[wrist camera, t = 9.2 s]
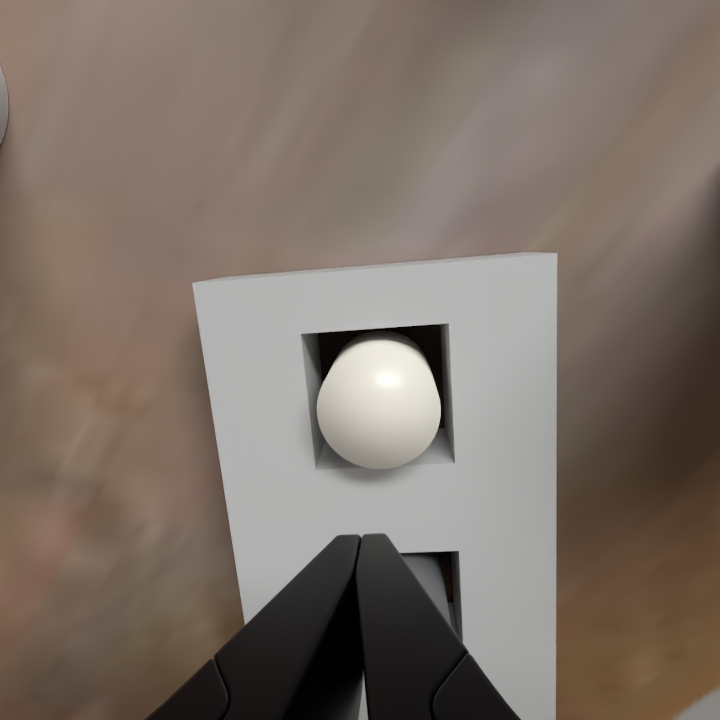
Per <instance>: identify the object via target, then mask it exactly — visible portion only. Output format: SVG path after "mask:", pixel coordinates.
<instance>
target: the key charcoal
mask: <svg viewBox="0 0 720 720" xmlns="http://www.w3.org/2000/svg"><path fill="white" fill-rule="evenodd" d="M400 554H401V556H402V557H403V559H404V560H405V562H406V563H407V564H408V566H409V567H410V569H411V570H412V571H413V573H414V574H415V576H416V577H417V579H418V580H419V581H420V583H421V584H422V586H423V587H424V589H425V590H426V591H427V593H428V594H429V596H430V597H431V598H432V600H433V601H434V603H435V604H436V606H437V607H438V608H439V610H440V611H441V613H442V614H443V616H444V617H445V618H446V620H447V621H448V623H449V624H450V626H451V623H450V617H449V610H448V604H447V597H446V590H445V584H444V577H443V571H442V564H441V559H440V555H439V553H438V552H416V553H400Z"/></svg>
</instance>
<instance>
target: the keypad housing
mask: <svg viewBox="0 0 720 720" xmlns="http://www.w3.org/2000/svg"><path fill="white" fill-rule="evenodd" d="M192 285H193V291H194V298H195V304H196V311H197V317H198V324H199V330H200V337H201V343H202V350H203V356H204V362H205V369H206V375H207V382H208V388H209V395H210V401H211V408H212V414H213V421H214V427H215V434H216V440H217V447H218V453H219V460H220V466H221V473H222V479H223V486H224V492H225V498H226V505H227V511H228V518H229V524H230V531H231V537H232V544H233V550H234V557H235V563H236V570H237V576H238V583H239V589H240V596H241V602H242V609H243V615H244V621H245V625H246V624H247V623H248V622H249V621H250V620H251V619H252V618H253V617H254V616H255V615H256V614H257V613H258V612H259V611H260V610H261V609H262V608H263V607H264V606H265V605H266V604H267V603H268V602H269V601H270V600H271V599H272V598H273V597H274V596H275V595H276V594H277V593H278V592H280V591H281V590H282V589H283V588H284V587H285V586H286V585H287V584H288V583H289V582H290V581H291V580H292V579H293V578H294V577H295V576H296V575H297V574H298V573H299V572H300V571H301V570H302V569H303V568H304V567H305V566H306V565H307V564H308V563H309V562H310V561H311V560H312V559H313V558H314V557H315V556H316V555H317V554H318V553H319V552H320V551H322V550H323V549H324V548H325V547H326V546H327V545H328V544H329V543H330V542H331V541H332V540H333V539H334V538H335V537H336V536H337V535H347V534H358V535H360V536H361V538H362V536H363V535H364V534H373V533H384V534H386V535H387V536H388V537H389V539H390V540H391V542H392V543H393V544H394V546H395V547H396V549H397V550H398V552H399V553H416V552H444V551H451V562H452V583H453V602H452V603H447V604H448V610H449V617H450V623H451V627H452V628H453V630H454V631H455V633H456V634H457V635H458V637H459V638H460V640H461V641H462V643H463V644H464V645H465V647H466V648H467V650H468V651H469V654H470V655H472V656H473V658H474V659H475V661H476V662H477V663H478V665H479V666H480V668H481V669H482V671H483V672H484V673H485V675H486V676H487V678H488V679H489V680H490V681H491V683H492V684H493V685H494V687H495V688H496V689H497V691H498V692H499V693H500V695H501V696H502V697H503V699H504V700H505V701H506V703H507V704H508V705H509V706H510V707H511V708H512V710H513V711H514V712H515V713H516V714H517V715H518V716H519V718H520V719H521V720H556V476H557V253H538V252H524V253H512V254H500V255H487V256H475V257H463V258H451V259H439V260H427V261H414V262H402V263H390V264H378V265H366V266H354V267H341V268H329V269H317V270H305V271H293V272H281V273H269V274H256V275H244V276H232V277H223V278H218V279H212V280H206V281H201V282H195V283H192ZM433 324H440V335H441V356H442V376H443V397H444V418H445V428H438V430H437V433H436V435H435V437H434V439H433V440H432V442H431V443H430V445H429V446H428V447H427V448H426V450H425V451H424V452H422V453H421V454H420V455H419V456H418V457H416V458H415V459H413V460H412V461H410V462H408V463H406V464H404V465H401V466H398V467H394V468H388V469H371V468H365V467H362V466H358V465H356V464H353V463H351V462H349V461H347V460H346V459H344V458H343V457H341V456H340V455H339V454H337V453H336V452H335V451H334V450H333V449H332V448H331V446H330V445H329V444H328V443H327V441H326V439H325V438H324V436H323V434H322V432H321V429H320V426H319V423H318V418H317V400H318V396H319V392H320V389H321V387H322V384H323V381H322V371H321V361H320V351H319V342H318V333H322V332H336V331H350V330H363V329H377V328H391V327H405V326H419V325H433ZM358 720H368V714H367V704H366V693H365V683H364V678H363V688H362V697H361V704H360V711H359V718H358Z"/></svg>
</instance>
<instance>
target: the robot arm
mask: <svg viewBox="0 0 720 720" xmlns="http://www.w3.org/2000/svg"><path fill="white" fill-rule="evenodd" d="M363 678H364V683H365V693H366V704H367V714H368V720H521V719H520V718H519V716H518V715H517V714H516V713H515V712H514V711H513V710H512V708H511V707H510V706H509V705H508V704H507V703H506V701H505V700H504V699H503V697H502V696H501V695H500V693H499V692H498V691H497V689H496V688H495V687H494V685H493V684H492V683H491V681H490V680H489V679H488V678H487V676H486V675H485V673H484V672H483V671H482V669H481V668H480V666H479V665H478V663H477V662H476V661H475V659H474V658H473V656H472V655H470V654H469V651H468V650H467V648H466V647H465V645H464V644H463V643H462V641H461V640H460V638H459V637H458V635H457V634H456V633H455V631H454V630H453V628H452V627H451V626H450V624H449V623H448V621H447V620H446V618H445V617H444V616H443V614H442V613H441V611H440V610H439V608H438V607H437V606H436V604H435V603H434V601H433V600H432V598H431V597H430V596H429V594H428V593H427V591H426V590H425V589H424V587H423V586H422V584H421V583H420V581H419V580H418V579H417V577H416V576H415V574H414V573H413V571H412V570H411V569H410V567H409V566H408V564H407V563H406V562H405V560H404V559H403V557H402V556H401V554H400V553H399V552H398V550H397V549H396V547H395V546H394V544H393V543H392V542H391V540H390V539H389V537H388V536H387V535H386V534H384V533H373V534H364V535H363V536H362V538H361V536H360V535H358V534H347V535H337V536H336V537H335V538H334V539H333V540H332V541H331V542H330V543H329V544H328V545H327V546H326V547H325V548H324V549H323V550H322V551H320V552H319V553H318V554H317V555H316V556H315V557H314V558H313V559H312V560H311V561H310V562H309V563H308V564H307V565H306V566H305V567H304V568H303V569H302V570H301V571H300V572H299V573H298V574H297V575H296V576H295V577H294V578H293V579H292V580H291V581H290V582H289V583H288V584H287V585H286V586H285V587H284V588H283V589H282V590H281V591H280V592H278V593H277V594H276V595H275V596H274V597H273V598H272V599H271V600H270V601H269V602H268V603H267V604H266V605H265V606H264V607H263V608H262V609H261V610H260V611H259V612H258V613H257V614H256V615H255V616H254V617H253V618H252V619H251V620H250V621H249V622H248V623H247V624H246V625H245V626H244V627H243V628H242V629H241V630H240V631H239V632H238V633H236V634H235V635H234V636H233V637H232V638H231V639H230V640H229V641H228V642H227V643H226V644H225V645H224V646H223V647H222V648H221V649H220V650H219V651H218V652H217V653H216V654H215V655H214V659H210V660H209V661H208V662H206V663H205V664H204V665H203V666H202V667H201V668H200V669H199V670H198V671H197V672H196V673H195V674H194V675H193V676H192V677H191V678H190V679H189V680H188V681H187V682H186V683H185V684H184V685H182V686H181V687H180V688H179V689H178V690H177V691H176V692H175V693H174V694H173V695H172V696H171V697H170V698H168V699H167V700H166V701H165V702H164V703H163V704H162V705H161V706H160V707H159V708H157V709H156V710H155V711H154V712H153V713H152V714H150V715H149V716H148V717H147V718H146V719H145V720H358V718H359V711H360V704H361V697H362V688H363Z"/></svg>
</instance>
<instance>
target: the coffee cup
mask: <svg viewBox="0 0 720 720" xmlns="http://www.w3.org/2000/svg"><path fill="white" fill-rule="evenodd" d="M8 112H9V102H8V92H7V86H6V82H5V78H4V74H3V71H2V69H1V66H0V145H1V143H2V140H3V138H4V135H5V131H6V127H7V122H8Z"/></svg>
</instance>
